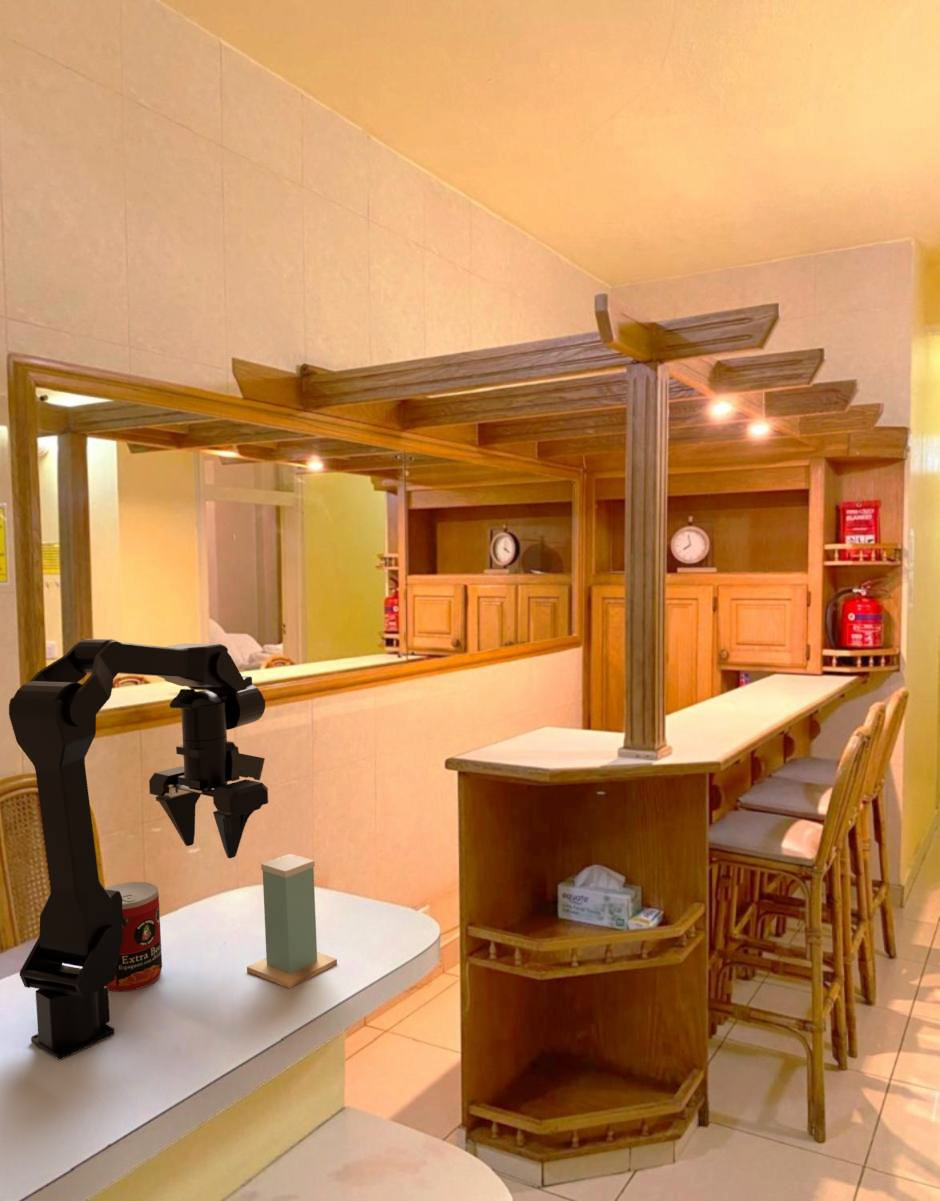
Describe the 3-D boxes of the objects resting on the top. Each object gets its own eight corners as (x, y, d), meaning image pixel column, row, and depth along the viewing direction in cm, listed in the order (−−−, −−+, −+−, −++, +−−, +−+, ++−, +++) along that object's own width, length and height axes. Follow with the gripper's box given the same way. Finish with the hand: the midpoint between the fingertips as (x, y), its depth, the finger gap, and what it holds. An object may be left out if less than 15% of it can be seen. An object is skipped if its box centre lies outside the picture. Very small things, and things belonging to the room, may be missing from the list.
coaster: (289, 988, 112) (289, 983, 111) (247, 971, 116) (246, 966, 116) (337, 963, 118) (336, 959, 118) (295, 948, 123) (294, 944, 123)
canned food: (121, 999, 110) (116, 909, 110) (85, 981, 115) (80, 895, 114) (175, 974, 116) (171, 889, 116) (139, 958, 121) (135, 877, 121)
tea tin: (289, 974, 114) (285, 871, 113) (265, 965, 117) (261, 863, 116) (318, 961, 117) (314, 860, 117) (294, 951, 120) (290, 853, 120)
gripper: (297, 733, 124) (302, 847, 124) (211, 720, 135) (216, 824, 136) (229, 749, 115) (235, 871, 116) (144, 734, 126) (150, 845, 127)
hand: (210, 851), depth 124 cm, fingers open, 9 cm apart
